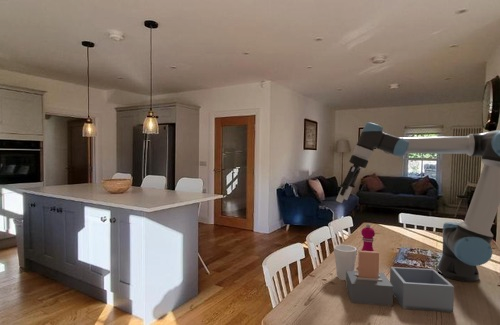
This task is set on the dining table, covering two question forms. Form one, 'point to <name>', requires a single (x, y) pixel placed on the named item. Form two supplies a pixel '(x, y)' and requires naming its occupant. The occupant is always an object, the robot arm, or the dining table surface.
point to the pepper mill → (367, 238)
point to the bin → (422, 289)
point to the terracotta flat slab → (368, 264)
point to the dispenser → (369, 289)
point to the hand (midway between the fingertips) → (341, 200)
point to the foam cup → (344, 259)
